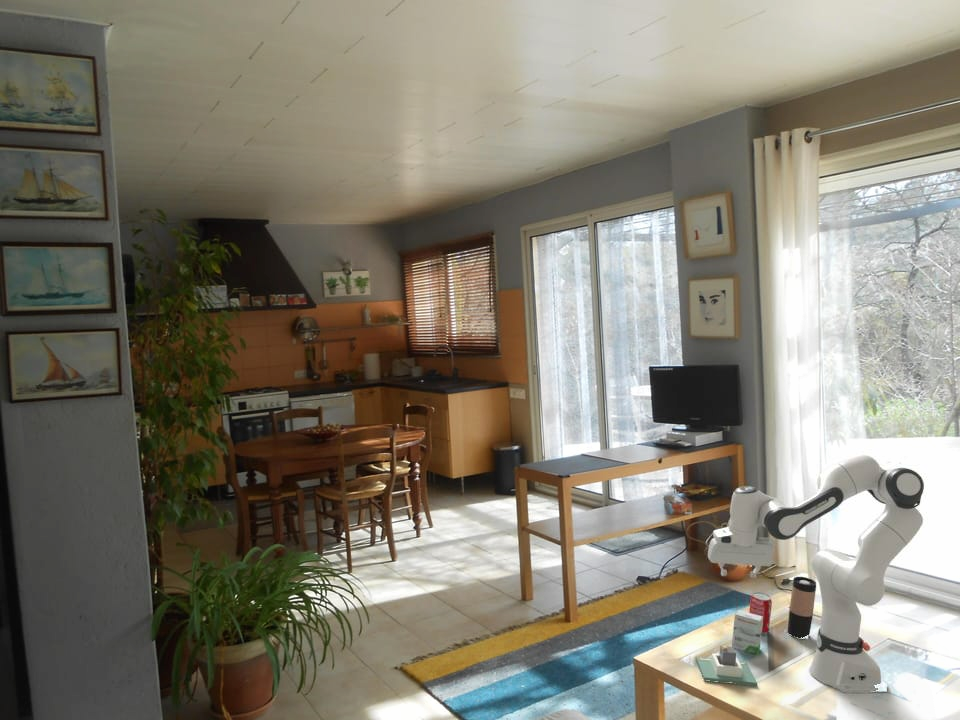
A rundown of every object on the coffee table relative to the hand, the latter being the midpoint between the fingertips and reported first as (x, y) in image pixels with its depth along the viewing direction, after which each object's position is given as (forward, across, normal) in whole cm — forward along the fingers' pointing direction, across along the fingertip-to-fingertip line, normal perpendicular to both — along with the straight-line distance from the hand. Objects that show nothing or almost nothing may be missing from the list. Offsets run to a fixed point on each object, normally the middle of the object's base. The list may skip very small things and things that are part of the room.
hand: (738, 576), depth 243 cm
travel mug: (+28, -28, -19) cm, 44 cm away
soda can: (+28, -14, -19) cm, 37 cm away
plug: (+26, +5, +13) cm, 29 cm away
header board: (+27, +5, +12) cm, 30 cm away
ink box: (+28, -6, -5) cm, 29 cm away
